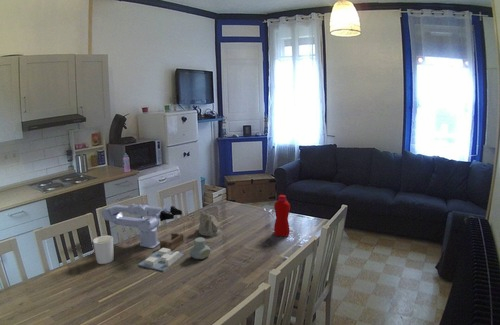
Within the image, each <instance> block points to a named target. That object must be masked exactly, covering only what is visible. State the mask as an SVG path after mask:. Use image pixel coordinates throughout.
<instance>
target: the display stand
mask: <svg viewBox="0 0 500 325" xmlns="http://www.w3.org/2000/svg"><path fill="white" fill-rule="evenodd" d="M184 256H185V254H184V253H181V252H180V251H177V250H176V251H171V249H167V248H162V249H160V248H159V249H157V250H155V252H153V253H152V254H150V255H149V256H147V257H146V258H145V259H143V260H142V261H140V262H139V263H137V266H139V267H143V268H147V269H152V270H155V271H158V272H159V271H160V272H163V273H164V272H165V271H167V269H170V267H172V266H173V265H174V264H176V262H178V261H179V260H180V259H182V258H183V257H184Z"/></svg>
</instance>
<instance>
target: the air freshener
mask: <svg viewBox="0 0 500 325" xmlns="http://www.w3.org/2000/svg"><path fill="white" fill-rule="evenodd" d="M189 254H190V256H191V257H192V258H193V259H194V260H195V259H196V260H204V259H206V258H207V257H209V256H210V254H211V248H210V247H209V246H208V245H206V239H205V237H200V236H199V237H197V238H195V239H194V240H193V246H192V247H191V248H190V250H189Z"/></svg>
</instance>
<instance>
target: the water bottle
mask: <svg viewBox="0 0 500 325" xmlns="http://www.w3.org/2000/svg"><path fill="white" fill-rule="evenodd" d="M277 198H278V200H276V201H275V203H274V212H275V214H274V215H275V222H274V225H273V226H274V227H273V232H274V235H275V237H288V236H289V235H290V225H289V216H290V217H291V216H293V214H291V215H290V210H291V204H290V202H289V201H288V199H287V197H286V195H285V194H280V195H278V196H277Z"/></svg>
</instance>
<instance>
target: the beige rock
mask: <svg viewBox="0 0 500 325" xmlns="http://www.w3.org/2000/svg"><path fill="white" fill-rule="evenodd" d="M198 226H199V227H198V234H199V235H202V236H206V237H212V238H214V237H220V236H221V234H222V230H221V223H220V222H219V221H218V220H217V218H216V217H215V216H214V215H212V214H209V213H207V214H206V213H205V212H204V210H201V213H200V216H199V225H198Z"/></svg>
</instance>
